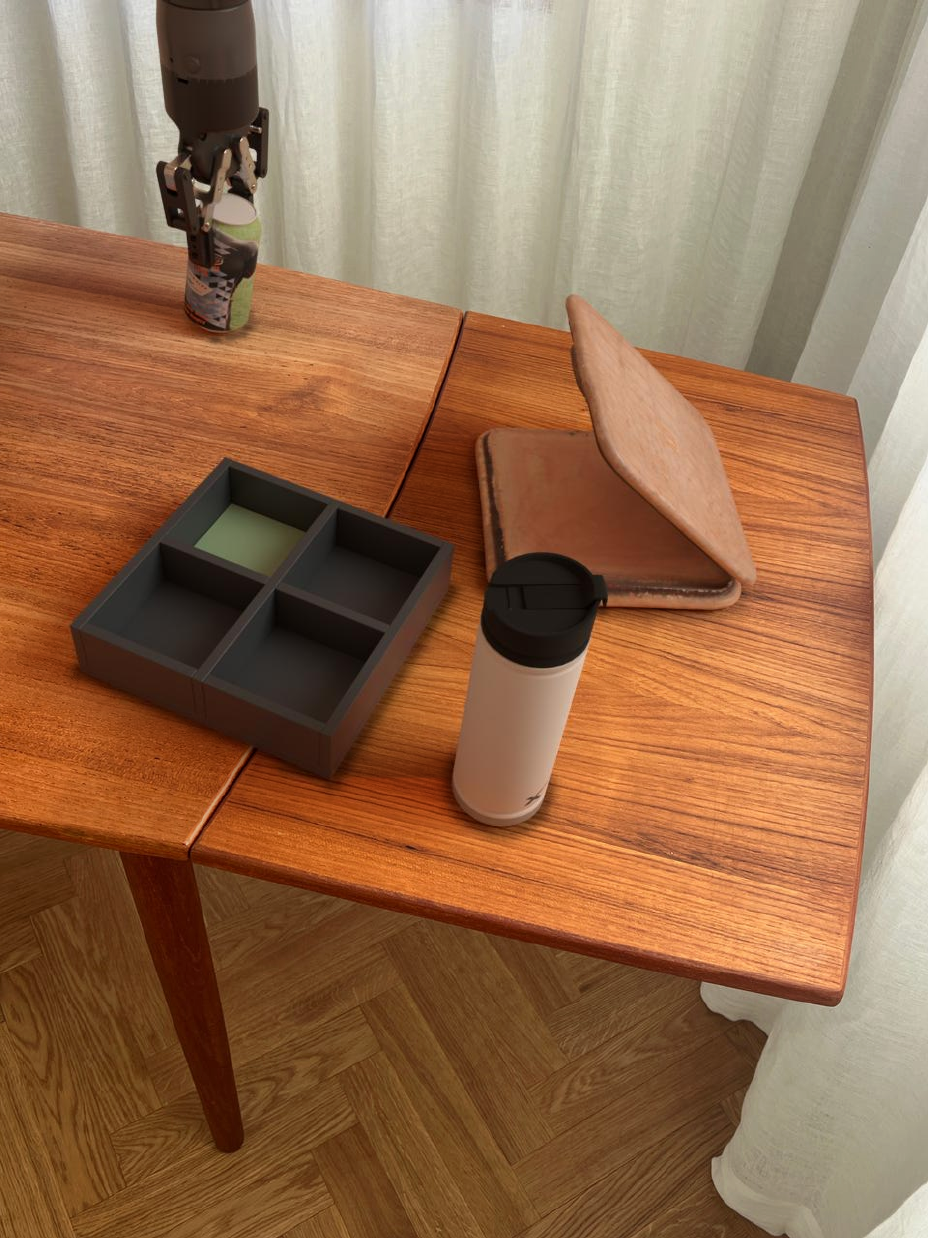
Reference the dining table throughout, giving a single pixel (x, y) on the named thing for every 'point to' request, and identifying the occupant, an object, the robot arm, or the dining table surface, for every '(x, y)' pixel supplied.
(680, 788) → the dining table surface
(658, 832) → the dining table surface
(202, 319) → the beverage can
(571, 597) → the travel mug
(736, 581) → the case
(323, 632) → the four compartment organizer
